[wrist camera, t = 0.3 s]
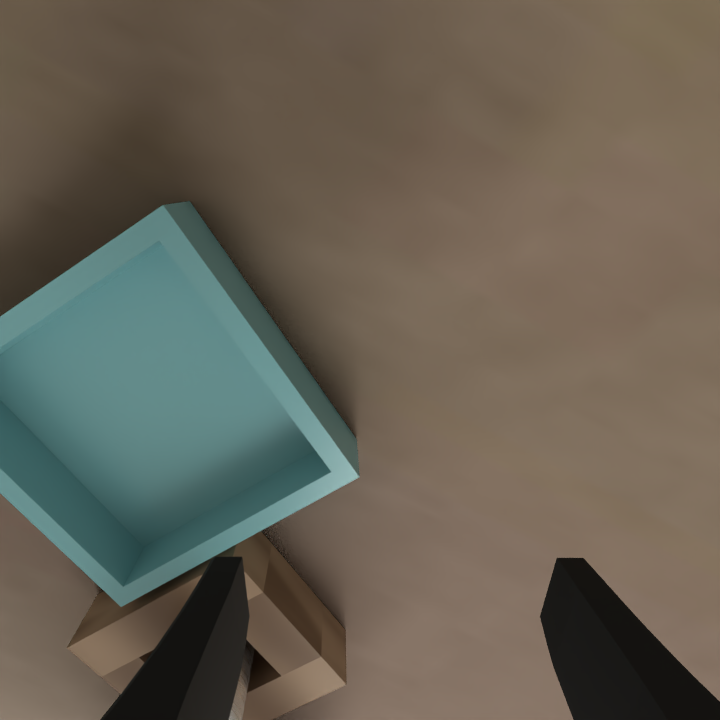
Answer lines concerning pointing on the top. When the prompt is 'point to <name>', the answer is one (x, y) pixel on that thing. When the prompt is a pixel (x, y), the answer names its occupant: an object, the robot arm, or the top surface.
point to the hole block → (265, 633)
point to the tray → (159, 409)
